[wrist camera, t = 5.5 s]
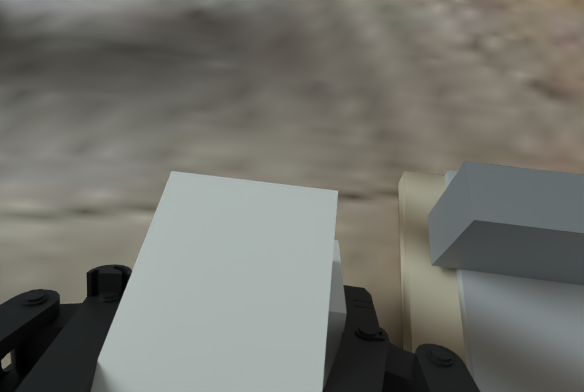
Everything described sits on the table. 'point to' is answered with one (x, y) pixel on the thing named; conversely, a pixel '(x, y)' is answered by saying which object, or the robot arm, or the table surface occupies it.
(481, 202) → the mounted modules
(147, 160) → the table surface
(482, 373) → the mounting board
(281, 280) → the block
